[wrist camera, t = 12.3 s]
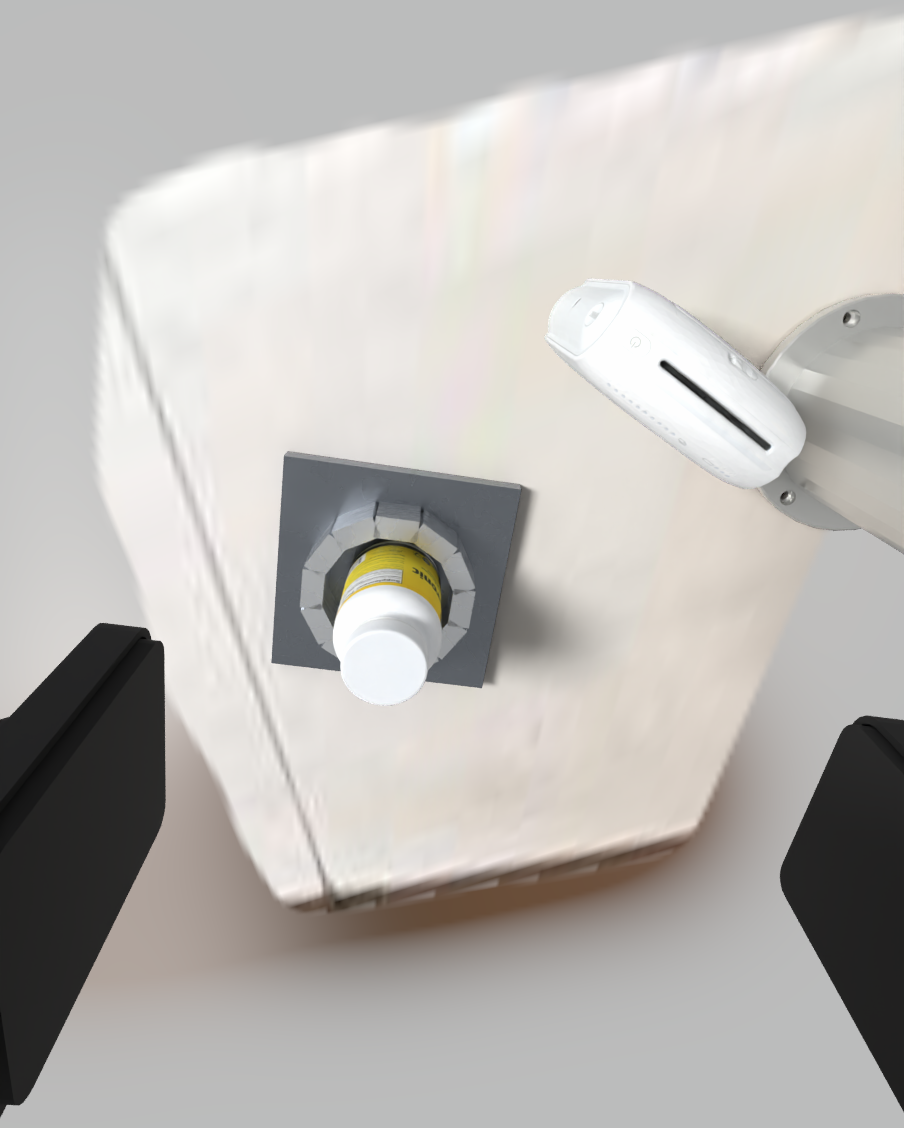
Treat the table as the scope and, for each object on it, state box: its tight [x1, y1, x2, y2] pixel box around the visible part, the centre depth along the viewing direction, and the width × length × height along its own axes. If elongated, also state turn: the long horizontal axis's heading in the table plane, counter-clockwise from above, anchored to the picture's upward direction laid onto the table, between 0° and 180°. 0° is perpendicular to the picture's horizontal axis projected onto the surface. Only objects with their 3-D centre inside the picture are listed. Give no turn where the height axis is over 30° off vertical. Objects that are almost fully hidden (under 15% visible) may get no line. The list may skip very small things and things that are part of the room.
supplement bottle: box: [333, 541, 442, 705], centre depth 36 cm, size 5×5×10 cm
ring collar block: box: [272, 451, 521, 688], centre depth 40 cm, size 13×13×4 cm
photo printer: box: [545, 278, 806, 489], centre depth 31 cm, size 10×4×12 cm, turn 55°
